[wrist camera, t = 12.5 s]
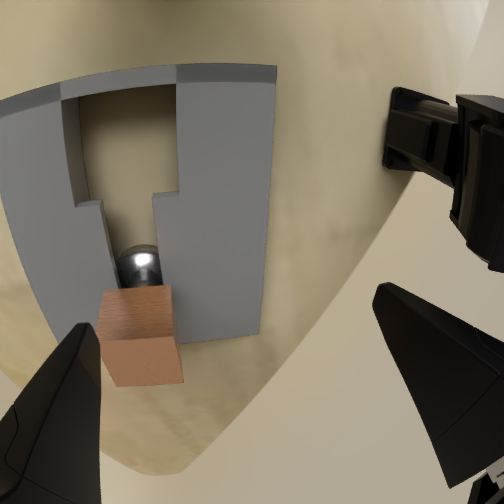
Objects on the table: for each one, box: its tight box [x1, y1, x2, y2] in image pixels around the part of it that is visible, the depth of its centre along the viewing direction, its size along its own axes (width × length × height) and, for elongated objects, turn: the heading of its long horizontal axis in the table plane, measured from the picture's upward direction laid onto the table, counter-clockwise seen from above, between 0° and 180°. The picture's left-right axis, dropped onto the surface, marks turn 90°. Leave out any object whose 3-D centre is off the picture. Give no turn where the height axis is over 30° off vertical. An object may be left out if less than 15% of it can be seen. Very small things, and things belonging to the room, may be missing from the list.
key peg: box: [96, 245, 184, 387], centre depth 17 cm, size 4×4×8 cm
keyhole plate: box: [0, 63, 277, 344], centre depth 17 cm, size 18×16×3 cm
